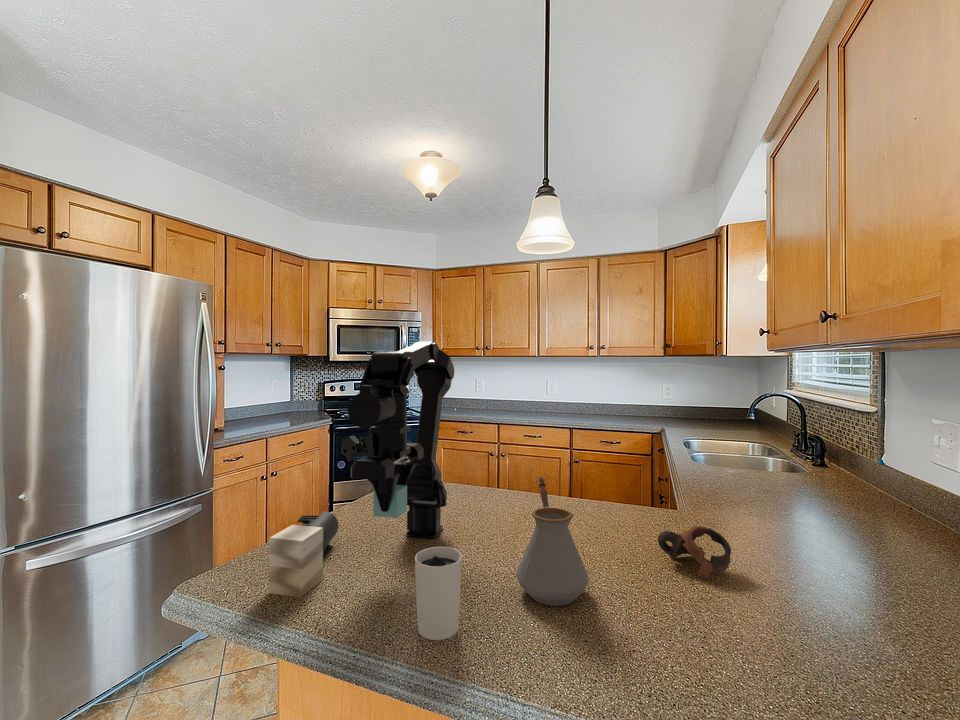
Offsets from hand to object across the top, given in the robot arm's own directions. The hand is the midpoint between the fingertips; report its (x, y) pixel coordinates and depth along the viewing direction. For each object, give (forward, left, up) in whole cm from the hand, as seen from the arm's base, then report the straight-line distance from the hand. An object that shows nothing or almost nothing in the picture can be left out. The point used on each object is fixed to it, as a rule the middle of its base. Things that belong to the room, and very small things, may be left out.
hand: (390, 507), depth 80 cm
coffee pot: (-28, -3, -12) cm, 30 cm away
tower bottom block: (+13, +9, -11) cm, 19 cm away
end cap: (+18, -3, -12) cm, 21 cm away
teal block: (0, 0, -1) cm, 1 cm away
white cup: (-14, +15, -12) cm, 23 cm away
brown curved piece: (-54, -14, -12) cm, 56 cm away
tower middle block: (+13, +9, -7) cm, 17 cm away
